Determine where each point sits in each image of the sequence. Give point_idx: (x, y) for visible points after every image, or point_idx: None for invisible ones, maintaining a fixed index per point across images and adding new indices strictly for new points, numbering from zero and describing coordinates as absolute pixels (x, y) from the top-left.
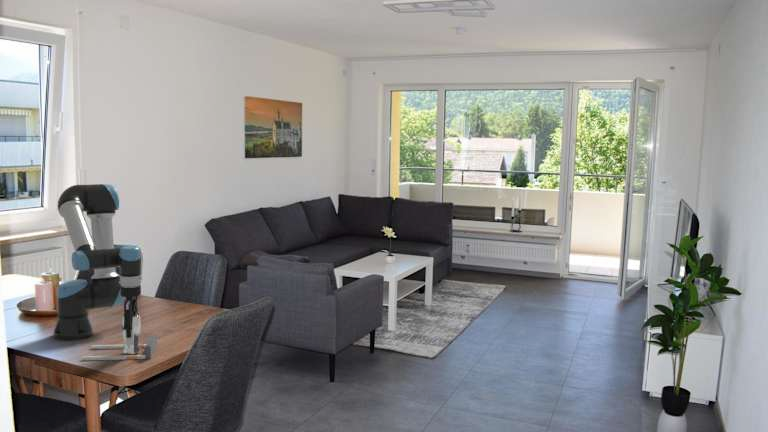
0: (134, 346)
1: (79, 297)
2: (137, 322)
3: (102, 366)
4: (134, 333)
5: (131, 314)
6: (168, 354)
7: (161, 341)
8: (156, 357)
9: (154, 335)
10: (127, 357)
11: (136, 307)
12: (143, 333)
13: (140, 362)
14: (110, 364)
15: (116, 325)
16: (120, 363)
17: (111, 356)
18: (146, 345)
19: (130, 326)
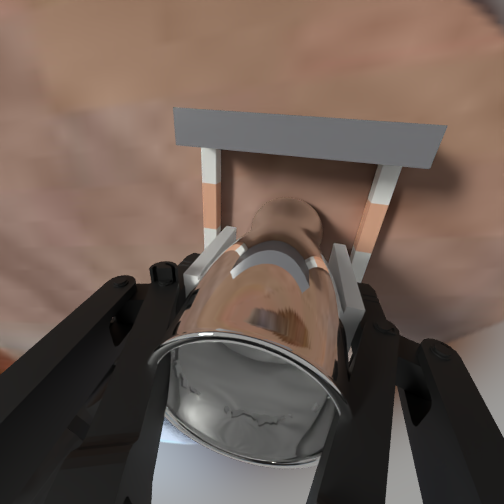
0: (316, 230)
1: None
2: (320, 304)
3: (423, 324)
4: (330, 269)
5: (380, 496)
6: (367, 3)
7: (128, 96)
8: (399, 91)
9: (186, 123)
10: (371, 246)
11: (109, 477)
12: (48, 194)
13: (451, 181)
14: (412, 301)
15: (8, 279)
16: (418, 268)
17: None
18: (409, 161)
19: (466, 372)
